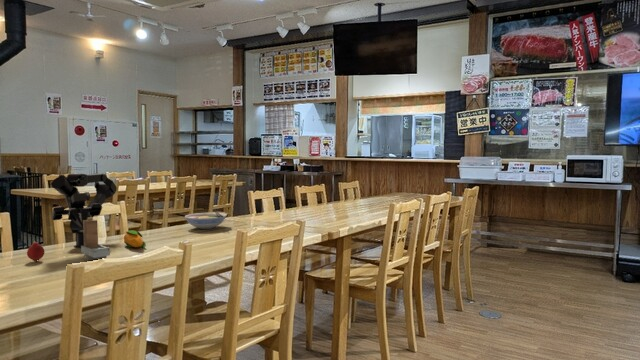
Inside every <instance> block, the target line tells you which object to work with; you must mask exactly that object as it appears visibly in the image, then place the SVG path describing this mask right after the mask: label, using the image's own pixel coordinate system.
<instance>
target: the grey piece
mask: <svg viewBox="0 0 640 360" xmlns="http://www.w3.org/2000/svg"><path fill="white" fill-rule="evenodd" d="M80 251H81V254H83V257H84V259H85V260H84V261H86V260H92V261H94V260H93V259H97V258H104V259H107V258H106V257H108V256H111V249H110V247H109V246H104V245H101V244H99V243H98V247H95V248H88V247H86V246H81V247H80Z"/></svg>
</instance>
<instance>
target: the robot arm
mask: <svg viewBox="0 0 640 360" xmlns="http://www.w3.org/2000/svg"><path fill="white" fill-rule="evenodd" d="M93 183H94V186H93V187H94V188H95V192H96V194H95V195H94V196H93V198H92V199H91V194H90V192H89V191H88V192H86V191H85V192H83V193H80V191H79V189H78V187H79V188H81V187H85V186H87V185H88V184H93ZM51 187H52V188H53V190H55V191H57V193H59V194H60V195H64V199H65V202H66V207H67V208H68V209H65V208H66V207H65V206H55V207H53V208H52V211H51V219H52V220H53V221H58V220H59V221H61V220H62V219H63V216H68V218H67V220H68V221H69V228H70V230H71V234H75V245H73V247H74V248H81V246H84V235H83V220H87V218H90V217H92V218H93V219H94V217H97V216H100V215H101V213H102V210H103V203H105V201H106V200H107V199H109V198H112V197H113V196H114V195H116V192H117V191H118V189H117V186H116V183H115V182H114V181H113V180H112V179H110V178H109V177H108V176H107V175H106V173H105V174H104V173H94V174H84V173H68V174H67V176H66V175H64V174H59V175H58V177H56V178H54V180H52V181H51ZM90 199H91V200H90ZM87 201H90V202H89V203H88V205H87V206H86V202H87Z"/></svg>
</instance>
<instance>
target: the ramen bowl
mask: <svg viewBox="0 0 640 360" xmlns="http://www.w3.org/2000/svg"><path fill="white" fill-rule="evenodd" d="M227 215H228V214H227V213H225V212H224V213H223V212H219V211H216V212H198V213H191V214H186V215H184V218H185V220H186V221H187V223H189V225H191V226H193V227H195V228H196V229H200V230H212V229H214V228H215V227H218V226H220V225H221V224H222V223H223V222H224V220H226V217H227Z"/></svg>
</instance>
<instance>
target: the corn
mask: <svg viewBox="0 0 640 360" xmlns="http://www.w3.org/2000/svg"><path fill="white" fill-rule="evenodd" d="M142 238H143V235H142V233H141V232H140V231H138V230H132V229H131V230H127V231H126V232H125V234H124V237H123V243H124V244H126V246H127V247H129V248H131V249H133V248H142V249H144V248H145V247H147V246H146V242H145V241H144V240H143V239H142Z"/></svg>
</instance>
